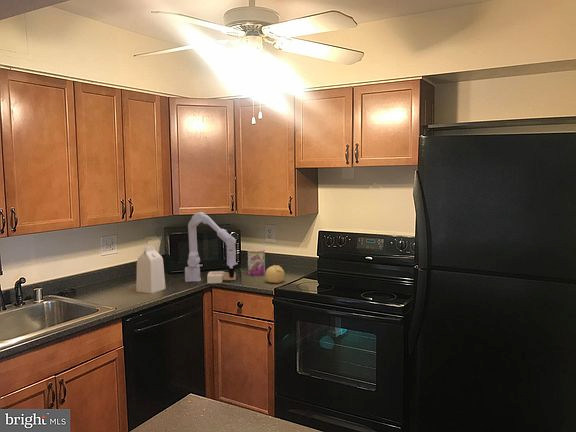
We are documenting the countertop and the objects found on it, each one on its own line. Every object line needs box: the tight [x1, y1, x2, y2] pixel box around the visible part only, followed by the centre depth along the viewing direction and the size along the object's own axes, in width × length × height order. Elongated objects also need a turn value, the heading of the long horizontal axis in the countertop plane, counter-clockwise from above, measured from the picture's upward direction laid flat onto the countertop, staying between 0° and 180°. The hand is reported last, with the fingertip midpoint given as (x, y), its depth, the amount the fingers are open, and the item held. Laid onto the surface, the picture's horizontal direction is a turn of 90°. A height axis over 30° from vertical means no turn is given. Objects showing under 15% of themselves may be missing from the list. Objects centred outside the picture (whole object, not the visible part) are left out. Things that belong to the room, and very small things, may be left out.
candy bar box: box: [247, 249, 266, 276], centre depth 314 cm, size 11×5×16 cm, turn 84°
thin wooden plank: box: [212, 271, 236, 281], centre depth 298 cm, size 14×1×5 cm, turn 95°
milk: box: [135, 245, 166, 294], centre depth 274 cm, size 12×12×26 cm
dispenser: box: [206, 270, 225, 284], centre depth 297 cm, size 10×14×4 cm
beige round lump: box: [264, 264, 285, 284], centre depth 291 cm, size 11×12×11 cm
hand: (231, 277), depth 298 cm, fingers closed, pressing on thin wooden plank
